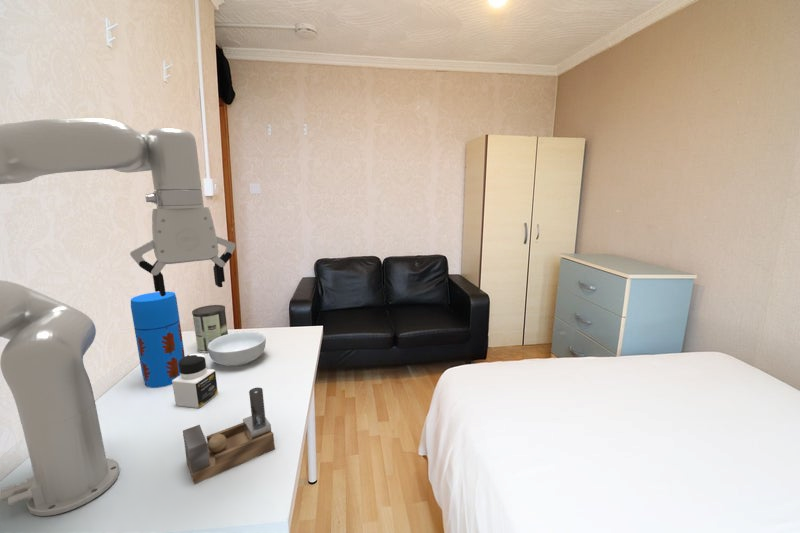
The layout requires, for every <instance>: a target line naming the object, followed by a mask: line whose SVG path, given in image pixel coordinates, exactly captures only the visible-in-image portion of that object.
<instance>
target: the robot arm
mask: <svg viewBox="0 0 800 533" xmlns="http://www.w3.org/2000/svg"><path fill="white" fill-rule="evenodd" d="M193 134H194V133H193ZM193 134H192V133H191V132H190V131H187V130H185V129H179V128H178V129H177V128H171V127H169V128H168V127H167V128H166V127H165V128H164V127H163V128H162V127H161V128H153V129H151V130H149V131H148V132H146V131H144V132H143V131H139V130H138V131H137V130H135V129H133V127H131V126H130V125H128V124H126V123H124V122H123V121H120V120H116V119H111V118H104V117H102V118H100V117H90V118H89V117H88V118H85V117H83V118H81V117H80V118H49V119H48V118H47V119H36V120H27V121H22V122H21V121H19V122H8V123H2V124H0V185H8V184H9V185H13V184H20V183H27V182H30V181H33V180H34V179H36V178H39V177H43V176H45V175H47V176H48V175H53V174H61V173H62V174H63V173H70V172H71V173H72V172H84V171H85V172H86V171H104V170H113V171H114V170H115V171H117V172H121V173H129V174H131V173H140V172H149V171H151V176H152V182H153V185H152V186H153V189H154V190H153V192H152V193H149V194H147V193H146V194H145V195H144V196H145V202H146V203H151V204H154V205H155V206H156V208H153V209H152V213H151V222H152V223H151V225H152V226H151V230H152V231H151V234H152V240H150V241H148V242H147V243H145V244H142V245H141V246H139V247H137V248H135V249H133V250H132V251H130V252H129V256H130V257H131V258H132V259H133V260H134V262H136V263H137V265H138V266H139V267H140V268H141V269H142V270H144V271H146V272H147V273H150V274H151V275H152V279H153V285H154V286H153V287H154V292H160V295H161V296H165V295H166V292H167V291H166V286H165V280H164V274H163V273H162V272H161V271H162V270H163V269H164V268H165V266H166V265H175V264H184V263H192V262H193V263H194V262H201V261H212V262H213V263H214V265H213V268H212V269H213V276H214V277H213V278H214V284H215V286H217V287H218V288H223V283H224V282H225V280H226V279H225V270H224V267H225V265H226V264H227V263H228V261H229V260H230V259H231V258H232V257H233V253H234V251H235V249H236V243H235V242H233V241H229V240H227V239H225V238H224V239H223V238H222V237H219V236H217V233H216V229H215V225H214V220H213V217H212V213H211V209H210V207H207V206H206V207H204V206H205V205H204V197H203V190H202V189H203V187H202V180H201V179H202V178H201V173H200V165H199V164H200V163H199V156H198V155H199V154H198V147H197V141H196V137H195V136H194V135H193ZM219 245H220V246H221V245H222V246H223V247H225V251H224V252H223V254H221V255H220V257H219ZM152 250H153V252H154V256H155V258H156V260H155V262H154V263H153V264H151V263H150V262H148V261H146V259H144V257H143V255H144V254H147V253H148V252H150V251H152ZM96 333H97V330H96V326H95V323H94V322H93V320H92V318H90V317H89V316H88V315H87V314H85V313H84V312H83V311H81V310H79V309H77V308H75V307H72V306H70V305H68V304H66V303H64V302H61V301H59V300H57V299H55V298H53V297H50V296H48V295H45V294H43V293H41V292H38V291H36V290H35V289H34V290H33V289H32V288H30V287H27V286H24V285H21V284H19V283H15V282H12V281H7V280H2V279H1V280H0V338H4V339H7V340H8V342H7V343H6V345H5V347H4V348H3V350H2V352H1V355H0V372H1V373H2V376H3V378H4V380H5V382H6V384H7V387H8V388H9V390H10V392H11V394H12V397H13V399H14V402H15V403H14V404H15V405H16V409H17V412H18V417H19V420H20V425H21V428H22V432H23V436H24V440H25V443H26V448H27V453H28V456H29V461H30V464H31V468H32V473H33V476H32V477H29V478H26V481H24V482H21V483H18V484H14V485H12V486H8V487H6V488H5V487H4V488H2V489H1V490H0V501H1V502H5V501H7V505H8V506H13V505H15V504H17V503H20V502H22V501H25V500H27V501H26V505H27V508H28V511H29V513H31V514H32V515H35V516H42V517H46V516H54V515H59V514H64V513H65V512H69V511H72V510H74V509H77V508H80V507H81V506H84V505H86V504H87V503H89V502H91V501H92V500H94V499H96V498H97V497H99V496H100V495H102V494H103V493H104V492H105V491H107V490H108V489H109V488H110V487H111V486H112V485H113V484H114V483H115V481H116V480H117V478H118V477H119V474H120V467H119V466H120V465H119V463H118V461H116V459H115V460H114V459H113V458H107V455H106V451H105V446H104V440H103V434H102V430H101V425H100V421H99V415H98V410H97V409H98V408H97V405H96V400H95V396H94V391H93V386H92V383H91V379H90V378H89V375H88V372H87V369H86V367H85V365H84V356H85V354H86V352H87V351H88V350H89V348H90V347H91V346H92V345H93V342H94V341H95V338H96Z"/></svg>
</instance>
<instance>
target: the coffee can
mask: <svg viewBox="0 0 800 533" xmlns="http://www.w3.org/2000/svg"><path fill="white" fill-rule="evenodd" d="M191 314H192V319H193V326H194V332H195V339H196V340H195V341H196V346H197V352H198V353H200V354H201V353H202V354H209V352H208V344H209V343H210V342H211V341H213V340H214V339H216V338H218V337H221V336H223V335H227V334H229V333H228V324H227V323H228V322H227V316H226V306H225V305H222V304H210V305H204V306H200V307H197V308H194V309H193V310H192V311H191Z"/></svg>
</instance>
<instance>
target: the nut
mask: <svg viewBox="0 0 800 533" xmlns="http://www.w3.org/2000/svg"><path fill="white" fill-rule="evenodd" d="M226 444H227V439H226V437H225V436H224V435H222V434H216V435H214V436H212V437H211V438H210V440H209V442H208V449H209V450H210V451H211V452H213V453H218V452H221V451H222V450H223V449H224V448H225V447H226Z"/></svg>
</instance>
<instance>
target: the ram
mask: <svg viewBox="0 0 800 533" xmlns="http://www.w3.org/2000/svg"><path fill="white" fill-rule="evenodd" d="M248 393H249V394H248V395H249V401H250V402H249V403H250V404H249V405H250V411H251V412H250V413H251V414H250V416H248V417H245V418H243V419H242V423H243V426H244V431H245V433H246V435H247V437H248V438H249V440H253V439H255V438H258V437H260V436H263V435H265V434H267V433H270V432H272V426H271V425H272V424H271V423H270V421H269V420H268V418H267V417H266V411H265V401H264V390H263V388H262V387H254V388H251V389H250V390H249V392H248Z"/></svg>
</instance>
